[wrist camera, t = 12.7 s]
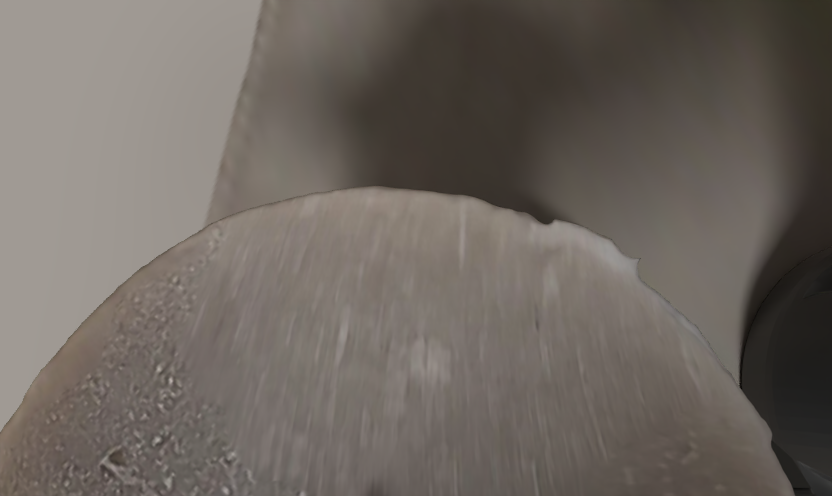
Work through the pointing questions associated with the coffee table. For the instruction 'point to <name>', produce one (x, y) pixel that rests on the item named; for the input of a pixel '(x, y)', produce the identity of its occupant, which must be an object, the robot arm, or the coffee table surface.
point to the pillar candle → (387, 367)
